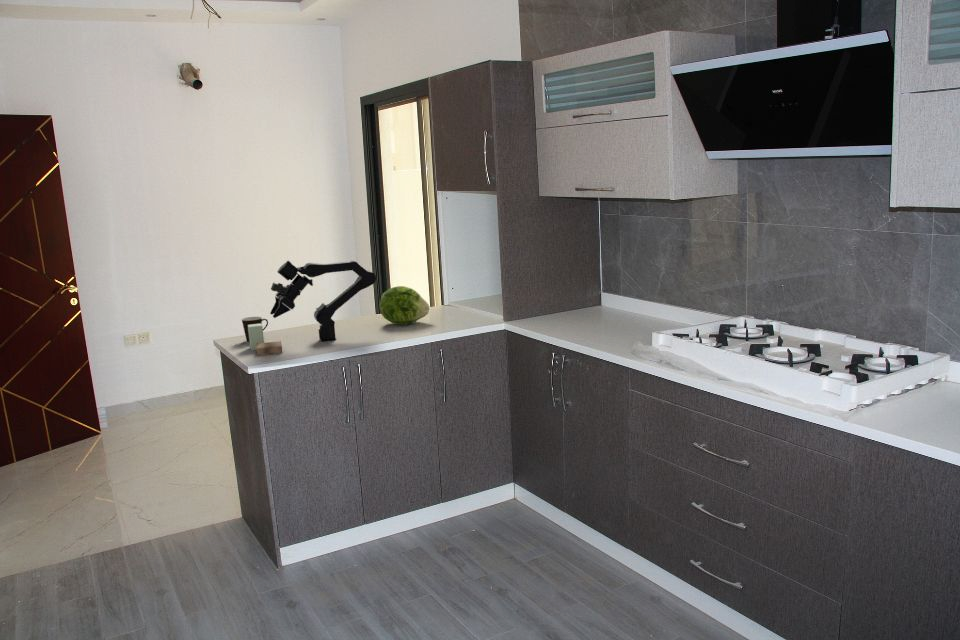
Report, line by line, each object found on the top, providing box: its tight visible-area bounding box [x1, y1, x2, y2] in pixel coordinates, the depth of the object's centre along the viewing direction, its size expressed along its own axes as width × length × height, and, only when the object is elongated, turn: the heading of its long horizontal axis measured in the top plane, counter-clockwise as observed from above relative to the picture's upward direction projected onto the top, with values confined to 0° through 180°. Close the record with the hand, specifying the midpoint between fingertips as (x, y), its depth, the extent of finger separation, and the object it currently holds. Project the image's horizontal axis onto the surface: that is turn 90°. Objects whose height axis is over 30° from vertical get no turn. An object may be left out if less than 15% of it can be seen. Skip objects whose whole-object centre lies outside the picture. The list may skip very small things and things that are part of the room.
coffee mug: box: [241, 316, 269, 343], centre depth 354 cm, size 12×9×10 cm
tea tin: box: [248, 323, 265, 351], centre depth 338 cm, size 6×6×10 cm
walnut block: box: [256, 340, 283, 357], centre depth 330 cm, size 10×10×4 cm
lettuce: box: [379, 285, 430, 326], centre depth 374 cm, size 19×23×18 cm
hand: (272, 315), depth 339 cm, fingers open, 9 cm apart
